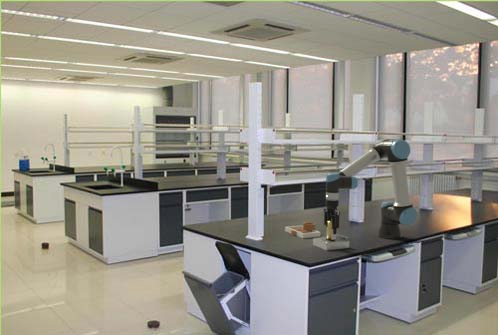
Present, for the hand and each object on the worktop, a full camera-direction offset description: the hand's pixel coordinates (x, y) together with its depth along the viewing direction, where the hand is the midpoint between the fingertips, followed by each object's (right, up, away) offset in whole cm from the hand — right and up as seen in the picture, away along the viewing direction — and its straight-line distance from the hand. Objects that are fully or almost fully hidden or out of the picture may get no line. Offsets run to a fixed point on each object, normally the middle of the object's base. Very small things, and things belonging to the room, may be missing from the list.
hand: (331, 238), depth 262 cm
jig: (0, -5, 0) cm, 5 cm away
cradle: (-13, -2, +34) cm, 36 cm away
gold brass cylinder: (0, -2, 0) cm, 2 cm away
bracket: (-12, -3, +34) cm, 36 cm away
